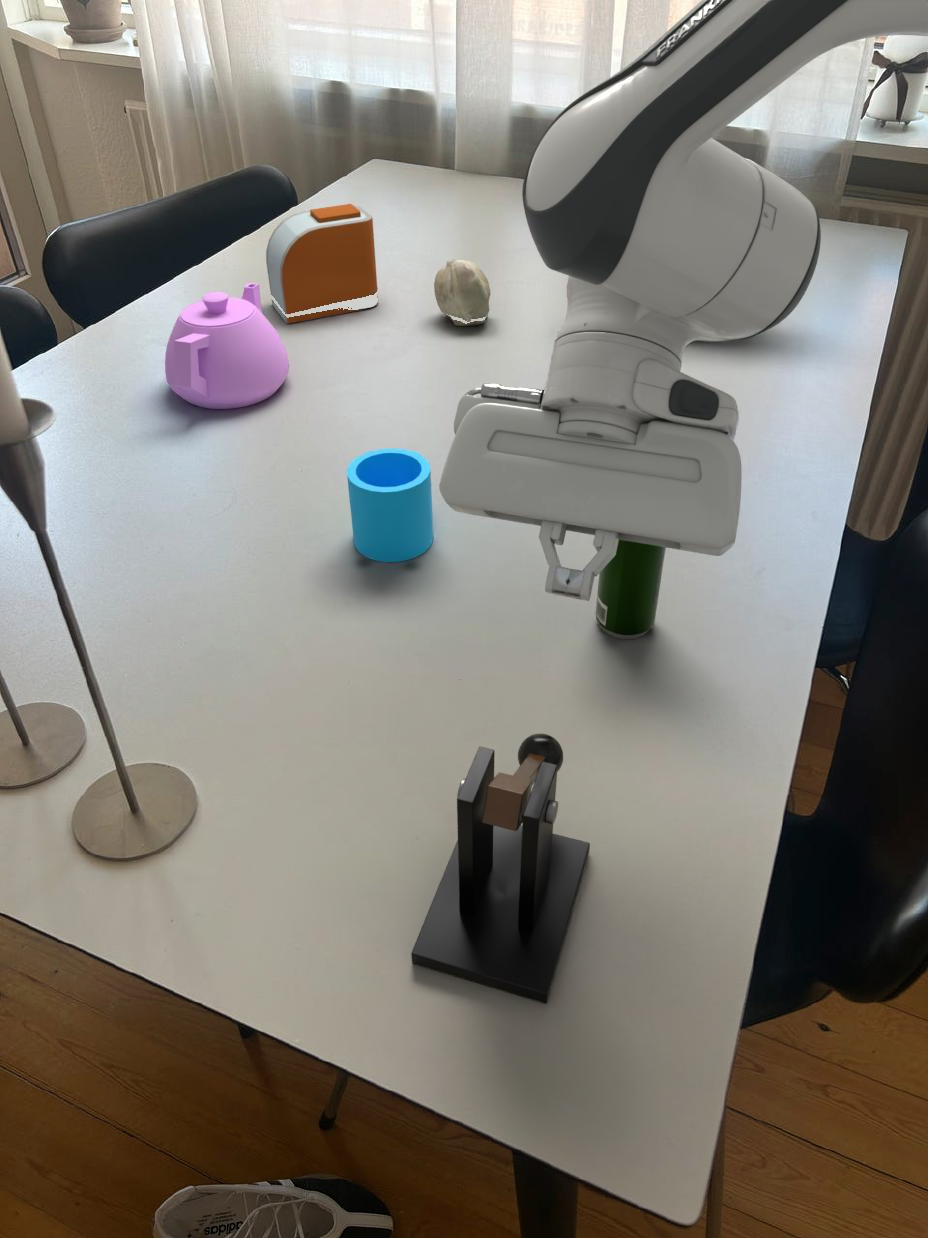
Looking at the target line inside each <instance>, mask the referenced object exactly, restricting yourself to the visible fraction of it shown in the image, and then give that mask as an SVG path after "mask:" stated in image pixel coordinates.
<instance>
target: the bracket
mask: <svg viewBox="0 0 928 1238" xmlns="http://www.w3.org/2000/svg"><path fill="white" fill-rule="evenodd" d="M557 769H558V765H555V764H551V763H547V762H542V763H541V766H540V769H539V772H538V774H537V777H536V780H535V782H534V784H533V785H532V788H531V794H530V797H529V800H528V803H527V805H526V808H525V811H524V814H523V822H522V824H521V825H520V827H519V828H518V830H517V831H513V830H509V829H505V828H501V827H498V826H494V825H490V824H486V823H482V818H483V812H484V805H485V799H486V793H487V787H488V785H489V784H490V783H491V781H492V780H493V779H494V778H495V749H492V748H488V747H484V746H479V747H478V749H477V751H476V753H475V755H474V758H473V760H472V763H471V764H470V767H469V770H468V772H467V775H466V777H465V778H462V779H461V780H460V783H459V786H458V790H457V794H456V795H457V796H456V811H457V812H456V817H457V818H456V820H457V840H456V843H455V845H454V847H453V850H452V853H451V855H450V858H449V860H448V862H447V865H446V867H445V870H444V871H443V872H444V873H443V875H442V878H441V880H440V882H439V885H438V887H437V890H436V892H435V894H434V897H433V899H432V901H431V904H430V906H429V909H428V911H427V914H426V916H425V919H424V920H423V923H422V925H421V928H420V931H419V934H418V936H417V938H416V941H415V942H414V945H413V948H412V951H411V953H410V956H411V957H410V958H411V964H412V965H415V966H418V967H422V968H426V969H429V970H432V971H436V972H439V973H443V974H446V975H448V976H452V977H456V978H459V979H462V980H466V981H469V982H472V983H475V984H479V985H482V986H485V987H489V988H493V989H496V990H498V991H502V992H505V993H508V994H512V995H515V996H519V997H522V998H525V999H529V1000H532V1001H536V1002H539V1003H542V1004H546V1005H547V1004H548V1001H549V998H550V994H551V990H552V987H553V982H554V980H555V976H556V972H557V968H558V966H559V962H560V958H561V954H562V951H563V947H564V945H565V940H566V936H567V934H568V929H569V926H570V922H571V919H572V915H573V912H574V907H575V904H576V901H577V897H578V894H579V889H580V886H581V883H582V879H583V876H584V872H585V868H586V864H587V861H588V858H589V854H590V846H591V843H590V842H588V841H583V840H580V839H576V838H571V837H569V836H564V835H560V834H557V833H554V832H553V831H554V824H555V822H556V819H557V815H558V810H559V801H557V800H556V796H557V795H556V794H557V782H558V781H557V779H558V772H557Z"/></svg>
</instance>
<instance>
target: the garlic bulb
mask: <svg viewBox="0 0 928 1238" xmlns="http://www.w3.org/2000/svg"><path fill="white" fill-rule="evenodd" d="M433 290H434V297H435V300H436V305H437V306H438V308H439V311H440V312H441V313H443V312H444V313H446V314H448V315H451V316H454V317H458V318H462V319H463V320H465V321H467V322H470V321H471V319H478V318H483V317H486V316H487V318H489V313H490V304H489V303H490V297H491V287H490V283H489V279H488V278H487V276H486V275H485V272H484V271H483V270H482V269H481V268H480V267H479V266H478V265H477V264H475V263H474V262H472V261H470V260H465V259H457V260H456V259H454V258H451V259H448V260H447V261H446V264H445V265H444V266H442V267H441V268H440V269H439V270H438V271H437V272H436V274H435V277H434V281H433ZM444 313H443V314H444ZM446 314H445V315H446ZM447 317H448V318H449V319H451V318H450V317H449V316H447ZM451 321H452V322H453V325H454V326H458V327H467V326H469V327H470V326H477V325H482V324H484V323H486V321H487V319H486V320H483V321H474V322H470V323H467V324H465V323H463V322H461V321H457V320H452V319H451Z"/></svg>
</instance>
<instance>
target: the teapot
mask: <svg viewBox="0 0 928 1238" xmlns="http://www.w3.org/2000/svg"><path fill="white" fill-rule="evenodd" d="M260 287H261V286H260V283H254V282H249V283H247V284H246V285H245V286H243V293H242V297H241V298H240V297H239V298H238V297H229V294H228V293H226V292H221V291H213V292H209V293H206V294H204V295H203V296H202V297H201V299H202V300H197V301H195V302H193V303H190V304H189V305H187V306H186V307H184V308H183V309H182V310H181V311H180V313H179V315H178V317H177V319H176V320H175V323H174V325H173V328H172V330H171V333H170V335H169V338H168V341H167V343H166V348H165V355H164V356H165V357H164V374H165V378H166V382H167V384H168V385H169V388H170V389H171V390H172V391H173V392H174V393H176V394H177V396H179V397H180V398H182V399H183V400H185V401H186V402H187V403H189V404H191V405H194V406H197V407H200V408H206V409H213V410H214V409H215V410H230V409H238V408H239V409H240V408H244V407H248V406H252V405H255V404H257V403H258V404H259V403H261V402H262V401H265V400H267V399H268V398H270V397H271V396H272V395H274V394H275V393H276V392H277V391H278V389H279V388H280V387H281V385H282V384H283V383H284V382H285V380H286V378H287V377H288V374H289V372H290V360H289V356H288V353H287V350H286V347H285V344H284V342H283V340H282V339H281V336H280V335H279V333H278V332H277V330H276V328H275V327H274V326H273V324H272V323H271V322H270V321H269V320H268V318H267V317H266V316H265V315H264V313H263V309H262V300H261V299H262V298H261V288H260Z"/></svg>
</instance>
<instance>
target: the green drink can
mask: <svg viewBox="0 0 928 1238" xmlns="http://www.w3.org/2000/svg"><path fill="white" fill-rule="evenodd" d="M666 550H667V549H666V547H660V546H654V545H648V544H642V543H637V542H631V541H625V540H619V541H618V546H617V551H616V555H615V556H614V558H613V559H612V560H611V561H610V562H609V563H608V564H607V565H606V566H605V568H604V569H603V570H602V571H601V572H600V573H599V574H598V586H597V593H596V606H595V620H596V622H597V624H598V626H599V627H600V628H601V630H602V631H603V632H604V633H605V634H607V635H608V636H611V637H613V638H615V639H621V640H635V639H639V638H642V637H643V636H645V635H646V634H647V633H648V632H649V631H650V630H651V628H652V627H653V626H654V624H655V621H656V615H657V610H658V602H659V596H660V589H661V583H662V575H663V569H664V563H665V556H666Z"/></svg>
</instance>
